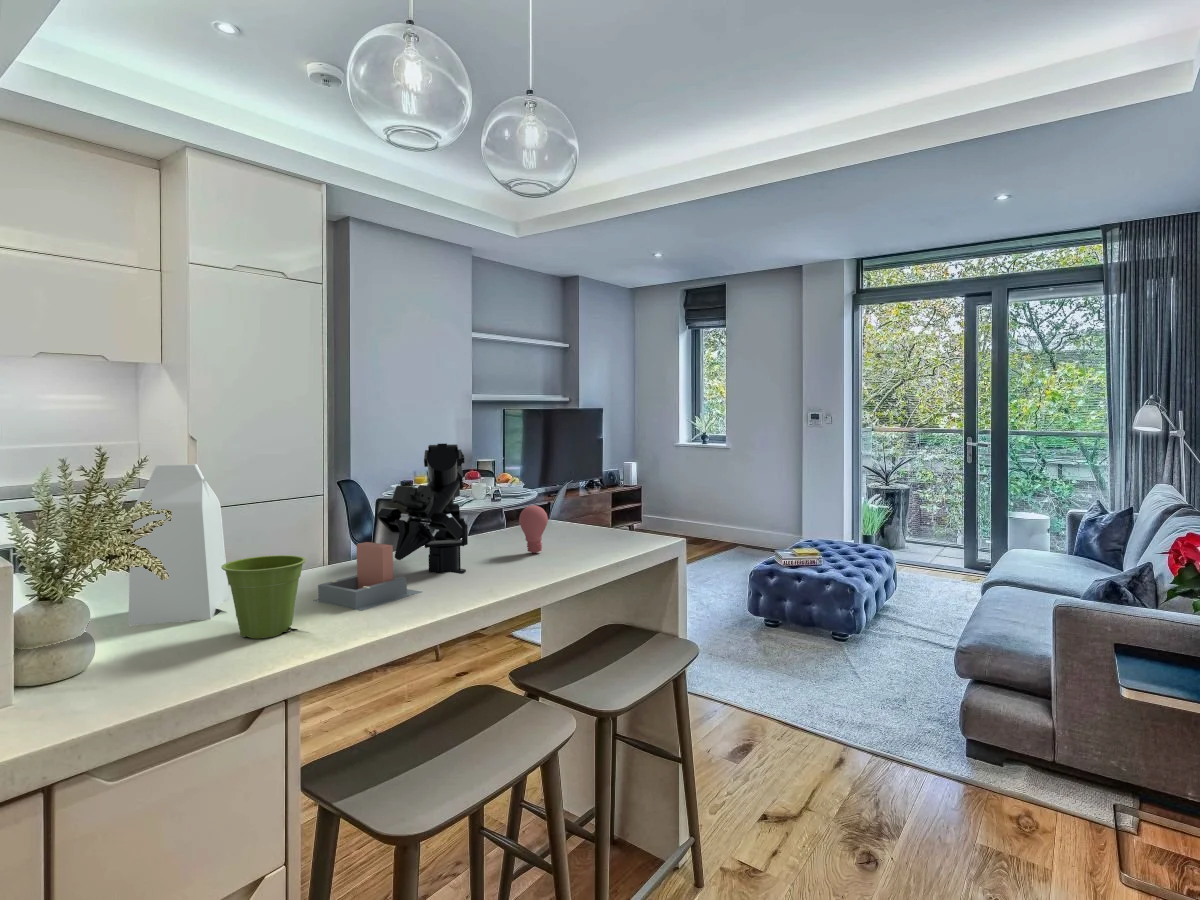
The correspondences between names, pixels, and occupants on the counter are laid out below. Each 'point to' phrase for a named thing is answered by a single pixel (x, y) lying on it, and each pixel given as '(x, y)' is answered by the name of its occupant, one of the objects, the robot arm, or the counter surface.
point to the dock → (362, 593)
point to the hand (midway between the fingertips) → (397, 558)
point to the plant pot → (264, 593)
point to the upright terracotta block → (374, 563)
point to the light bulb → (533, 526)
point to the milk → (180, 550)
